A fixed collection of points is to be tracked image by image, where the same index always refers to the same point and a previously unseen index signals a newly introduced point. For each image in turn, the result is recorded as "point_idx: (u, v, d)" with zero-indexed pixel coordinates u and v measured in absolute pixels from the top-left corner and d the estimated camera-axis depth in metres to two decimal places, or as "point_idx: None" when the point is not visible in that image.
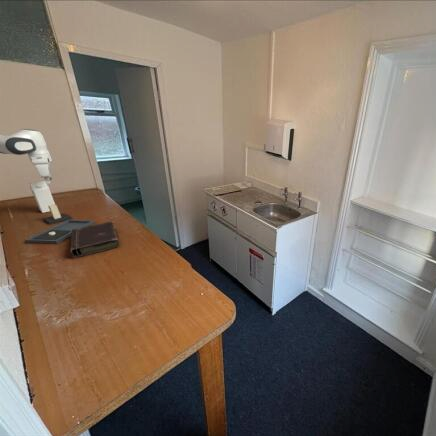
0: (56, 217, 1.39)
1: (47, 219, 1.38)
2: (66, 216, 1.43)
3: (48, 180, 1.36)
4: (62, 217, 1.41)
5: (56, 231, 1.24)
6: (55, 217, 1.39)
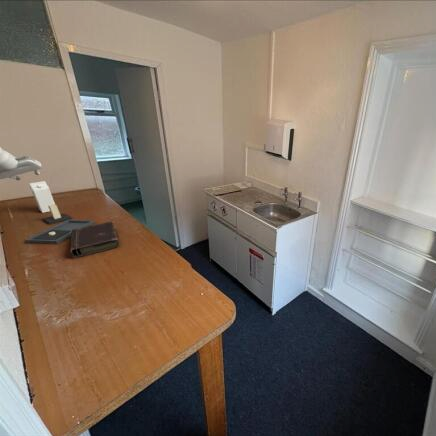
0: (56, 217, 1.39)
1: (47, 219, 1.38)
2: (66, 216, 1.43)
3: None
4: (62, 217, 1.41)
5: (56, 231, 1.24)
6: (55, 217, 1.39)
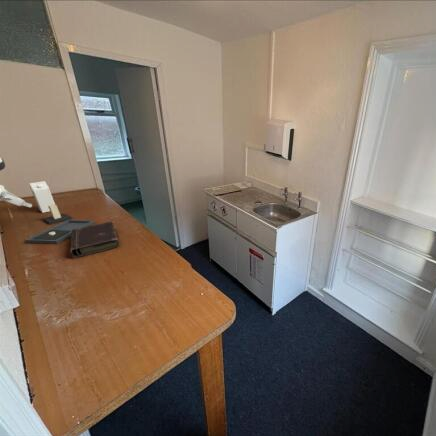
0: (56, 217, 1.39)
1: (47, 219, 1.38)
2: (66, 216, 1.43)
3: None
4: (62, 217, 1.41)
5: (56, 231, 1.24)
6: (55, 217, 1.39)
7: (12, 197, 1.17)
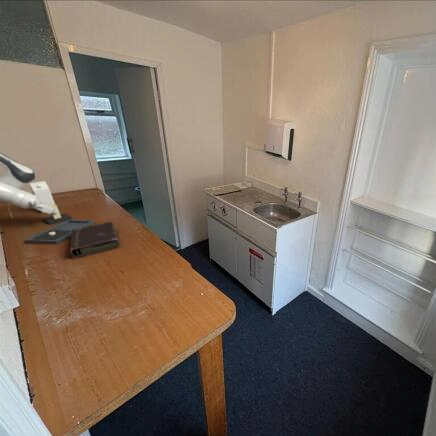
0: (56, 217, 1.39)
1: (47, 219, 1.38)
2: (66, 216, 1.43)
3: None
4: (62, 217, 1.41)
5: (56, 231, 1.24)
6: (55, 217, 1.39)
7: (43, 206, 1.28)
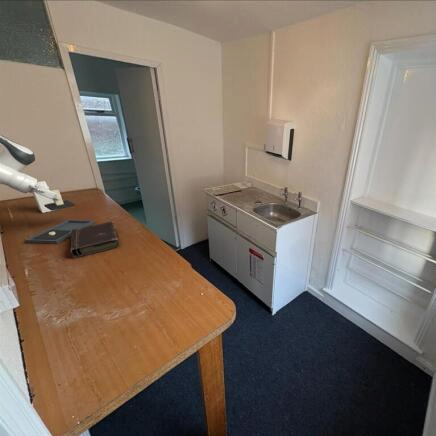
0: (58, 203, 1.29)
1: (49, 205, 1.28)
2: (69, 203, 1.33)
3: None
4: (65, 204, 1.31)
5: (56, 231, 1.24)
6: (57, 203, 1.29)
7: (45, 190, 1.17)
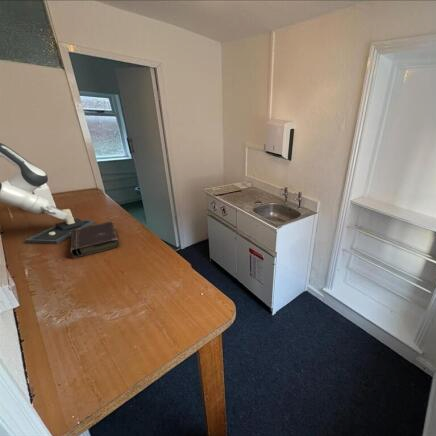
0: (70, 222, 1.30)
1: (60, 225, 1.28)
2: (80, 221, 1.33)
3: None
4: (76, 222, 1.32)
5: (56, 231, 1.24)
6: (69, 222, 1.29)
7: (57, 211, 1.18)
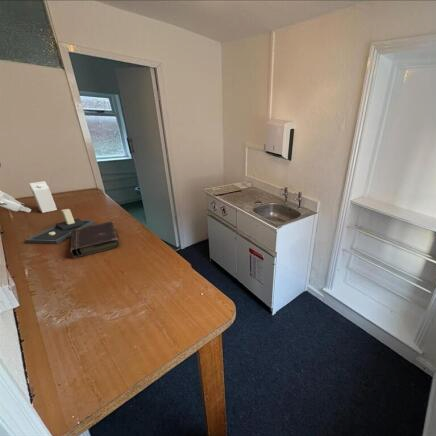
0: (70, 222, 1.30)
1: (60, 225, 1.28)
2: (80, 221, 1.33)
3: None
4: (76, 222, 1.32)
5: (56, 231, 1.24)
6: (69, 222, 1.29)
7: (8, 201, 1.04)
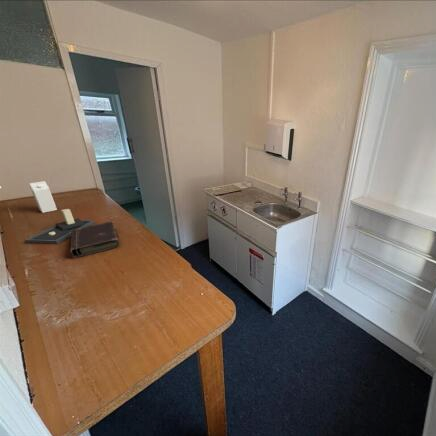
0: (70, 222, 1.30)
1: (60, 225, 1.28)
2: (80, 221, 1.33)
3: None
4: (76, 222, 1.32)
5: (56, 231, 1.24)
6: (69, 222, 1.29)
7: None
